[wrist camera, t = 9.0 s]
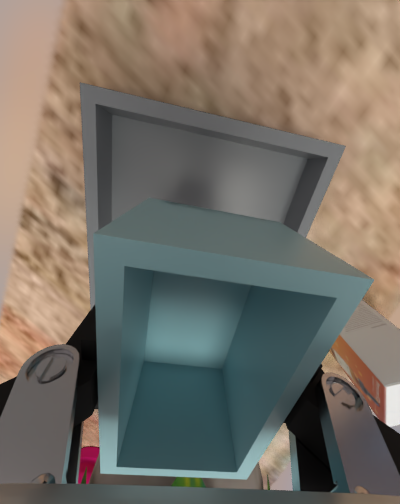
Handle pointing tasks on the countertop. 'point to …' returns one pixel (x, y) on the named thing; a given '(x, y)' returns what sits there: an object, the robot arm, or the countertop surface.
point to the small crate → (208, 335)
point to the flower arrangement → (175, 480)
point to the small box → (372, 360)
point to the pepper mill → (87, 462)
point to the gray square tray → (195, 163)
